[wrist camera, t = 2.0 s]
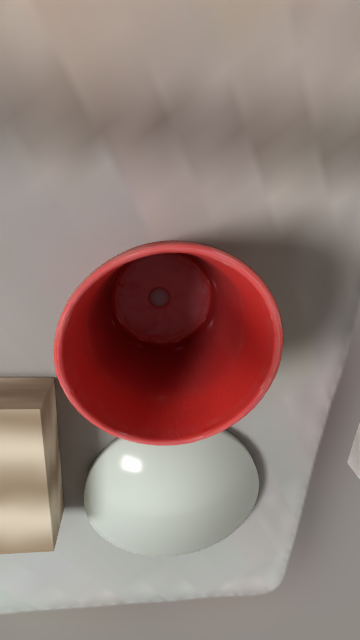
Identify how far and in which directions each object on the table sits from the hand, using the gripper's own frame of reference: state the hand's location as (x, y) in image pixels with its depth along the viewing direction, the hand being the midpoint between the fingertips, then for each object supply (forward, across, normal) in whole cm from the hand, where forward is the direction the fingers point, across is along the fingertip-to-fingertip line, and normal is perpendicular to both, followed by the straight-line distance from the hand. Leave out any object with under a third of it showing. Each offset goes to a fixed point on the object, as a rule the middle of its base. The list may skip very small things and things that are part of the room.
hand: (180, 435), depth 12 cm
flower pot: (+15, 0, +1) cm, 15 cm away
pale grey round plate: (+15, +2, -18) cm, 24 cm away
